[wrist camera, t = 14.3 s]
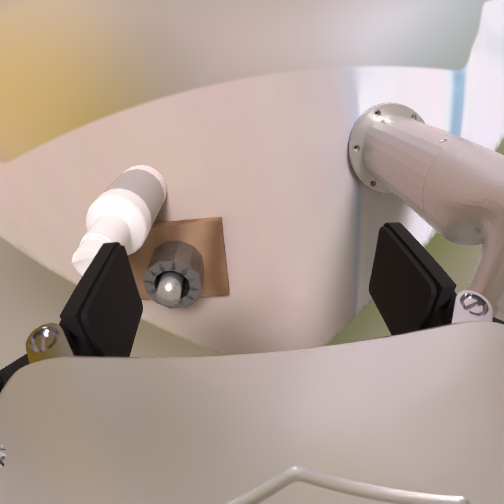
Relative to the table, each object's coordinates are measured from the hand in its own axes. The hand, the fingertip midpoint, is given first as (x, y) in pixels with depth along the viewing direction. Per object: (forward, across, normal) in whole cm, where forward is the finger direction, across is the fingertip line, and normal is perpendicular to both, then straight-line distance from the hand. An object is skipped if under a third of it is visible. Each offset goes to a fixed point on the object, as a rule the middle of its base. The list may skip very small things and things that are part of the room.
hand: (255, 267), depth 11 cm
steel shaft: (+27, +10, +17) cm, 33 cm away
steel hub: (+27, +10, +17) cm, 33 cm away
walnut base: (+28, +10, +17) cm, 34 cm away
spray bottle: (+28, +13, +6) cm, 32 cm away
